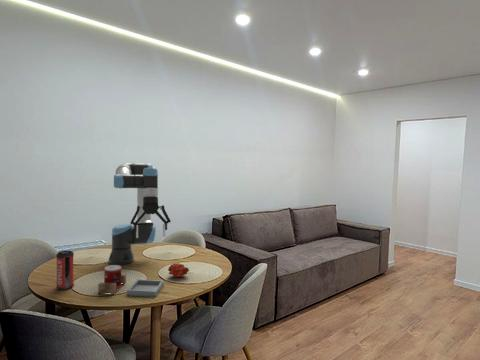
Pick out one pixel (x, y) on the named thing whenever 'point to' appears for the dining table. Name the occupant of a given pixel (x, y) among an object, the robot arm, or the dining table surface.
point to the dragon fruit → (178, 270)
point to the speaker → (64, 270)
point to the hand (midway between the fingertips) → (150, 237)
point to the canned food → (113, 275)
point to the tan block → (110, 286)
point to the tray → (145, 288)
